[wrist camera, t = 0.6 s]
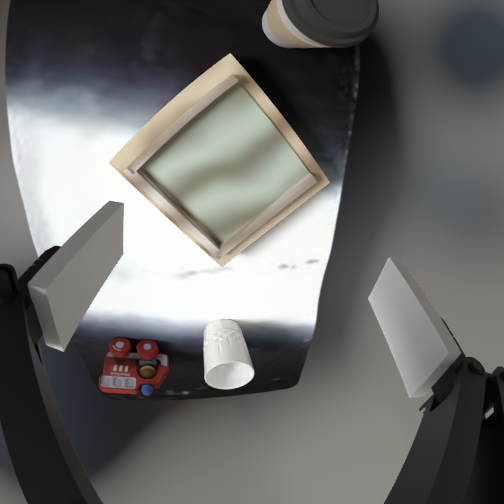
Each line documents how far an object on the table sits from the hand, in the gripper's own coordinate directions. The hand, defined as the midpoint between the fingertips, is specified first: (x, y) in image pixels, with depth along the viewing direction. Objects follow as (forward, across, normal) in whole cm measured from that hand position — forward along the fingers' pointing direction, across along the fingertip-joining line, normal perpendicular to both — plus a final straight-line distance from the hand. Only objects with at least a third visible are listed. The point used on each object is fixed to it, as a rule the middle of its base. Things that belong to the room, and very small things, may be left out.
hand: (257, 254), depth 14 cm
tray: (+26, -4, -2) cm, 26 cm away
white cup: (+27, +1, -32) cm, 42 cm away
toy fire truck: (+24, -14, -39) cm, 48 cm away
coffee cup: (+27, 0, +18) cm, 32 cm away
